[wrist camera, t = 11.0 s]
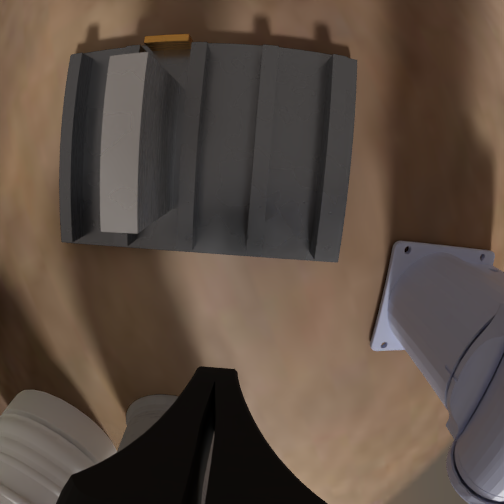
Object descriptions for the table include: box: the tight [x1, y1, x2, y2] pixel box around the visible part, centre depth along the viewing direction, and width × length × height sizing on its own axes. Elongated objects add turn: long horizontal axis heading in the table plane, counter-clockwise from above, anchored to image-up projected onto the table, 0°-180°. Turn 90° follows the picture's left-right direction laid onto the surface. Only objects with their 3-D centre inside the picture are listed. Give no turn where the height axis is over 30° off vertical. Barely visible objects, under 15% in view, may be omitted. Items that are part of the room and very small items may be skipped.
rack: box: [59, 34, 357, 262], centre depth 16 cm, size 17×12×2 cm
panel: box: [100, 52, 180, 234], centre depth 13 cm, size 2×7×6 cm, turn 176°
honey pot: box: [0, 390, 117, 504], centre depth 16 cm, size 13×13×18 cm
